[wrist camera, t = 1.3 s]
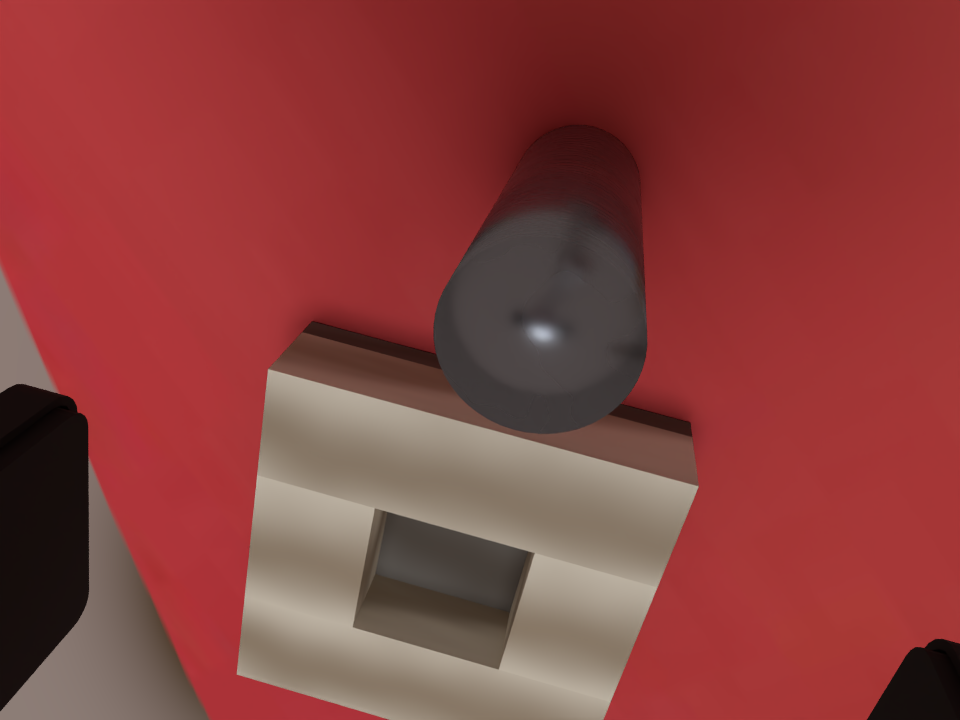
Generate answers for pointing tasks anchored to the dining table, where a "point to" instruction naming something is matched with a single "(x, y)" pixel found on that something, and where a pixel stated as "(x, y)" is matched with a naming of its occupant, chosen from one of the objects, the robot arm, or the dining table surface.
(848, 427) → the dining table surface
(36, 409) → the robot arm
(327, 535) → the socket block
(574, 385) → the steel peg
